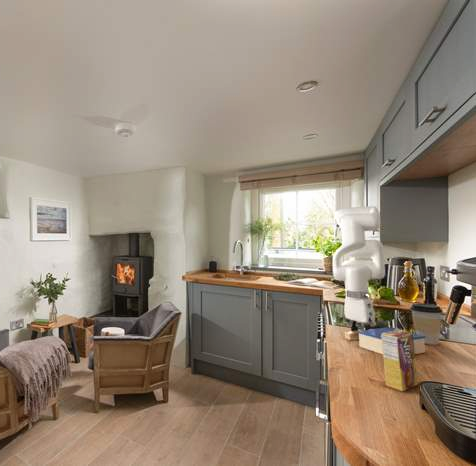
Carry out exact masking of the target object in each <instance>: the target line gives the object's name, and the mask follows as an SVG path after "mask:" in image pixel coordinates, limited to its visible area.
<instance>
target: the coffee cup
mask: <svg viewBox="0 0 476 466" xmlns="http://www.w3.org/2000/svg"><path fill="white" fill-rule="evenodd" d="M409 309H410V310H411V314H412V320H413V326H414V330H415V332H416V333H415V334H418V335H423V336H426V338H424V344H425V345H432V346H436V345H439V344H440V333H441V326H442V325H441V324H442V323H441V322H442V318H441V316H442V315H441V314H442V313H444V311H443V309H442V308H441V307H440V305H438V304H437V305H436V304H431V303H412V305H411V306H410V307H409Z"/></svg>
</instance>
